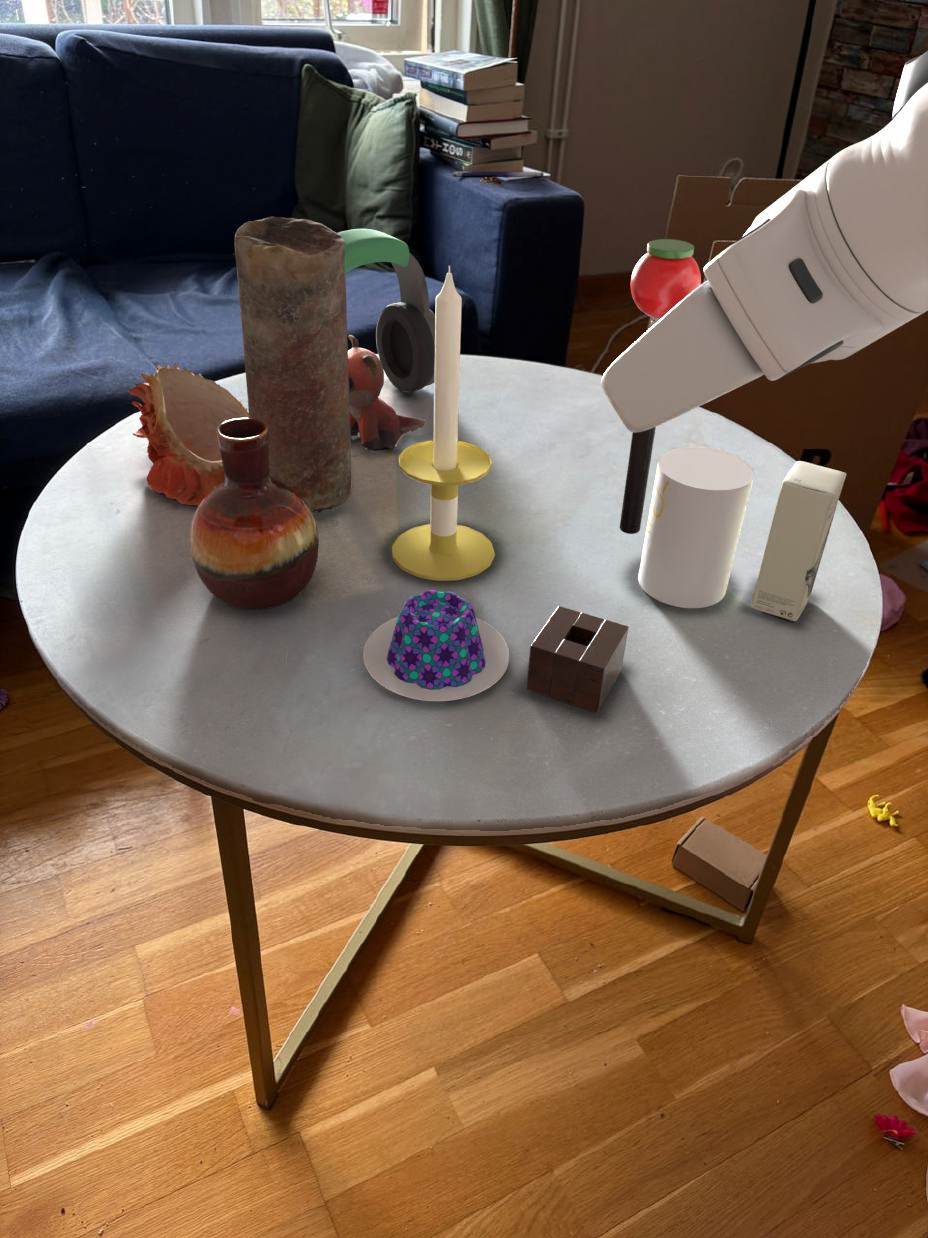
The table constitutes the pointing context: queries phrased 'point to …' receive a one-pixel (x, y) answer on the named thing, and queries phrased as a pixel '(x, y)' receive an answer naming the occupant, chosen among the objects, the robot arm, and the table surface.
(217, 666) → the table surface
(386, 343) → the headphones
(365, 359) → the stuffed fox
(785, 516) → the box
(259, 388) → the brown textured cylinder
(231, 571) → the vase
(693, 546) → the white cylinder
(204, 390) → the seashell
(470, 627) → the pudding
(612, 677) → the block
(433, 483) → the candle
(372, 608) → the table surface
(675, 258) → the joystick
